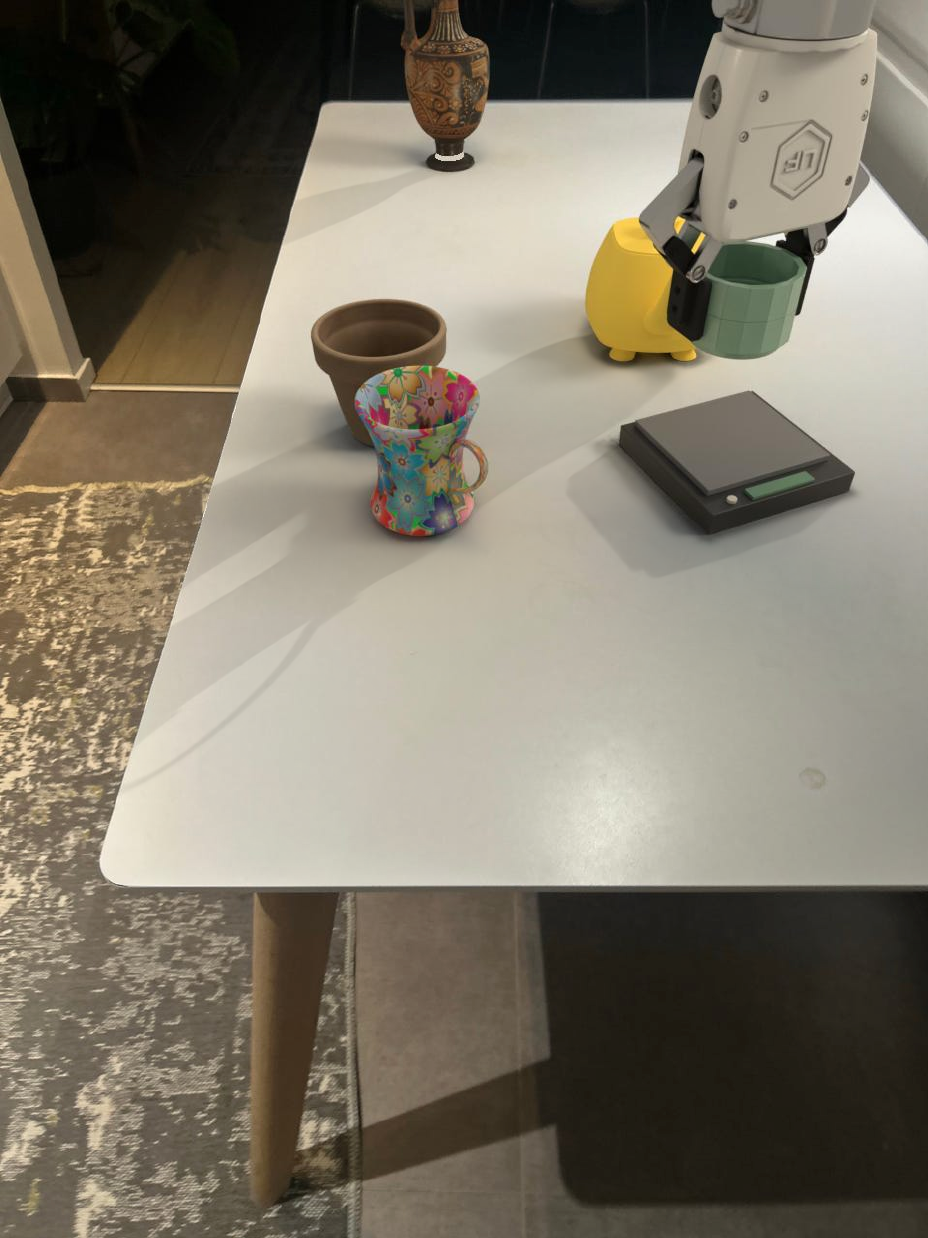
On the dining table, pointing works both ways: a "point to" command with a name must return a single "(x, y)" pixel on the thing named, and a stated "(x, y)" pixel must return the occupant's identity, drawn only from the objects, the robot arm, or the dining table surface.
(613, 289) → the teapot
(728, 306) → the bowl
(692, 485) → the scale
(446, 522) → the mug
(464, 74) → the vase
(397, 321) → the flower pot
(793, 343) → the dining table surface
